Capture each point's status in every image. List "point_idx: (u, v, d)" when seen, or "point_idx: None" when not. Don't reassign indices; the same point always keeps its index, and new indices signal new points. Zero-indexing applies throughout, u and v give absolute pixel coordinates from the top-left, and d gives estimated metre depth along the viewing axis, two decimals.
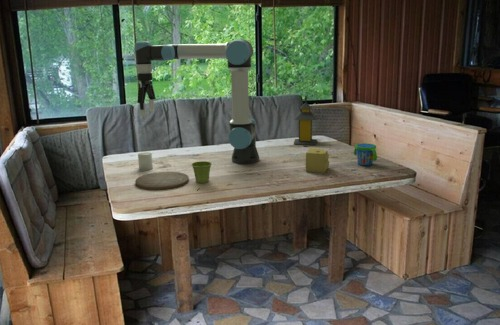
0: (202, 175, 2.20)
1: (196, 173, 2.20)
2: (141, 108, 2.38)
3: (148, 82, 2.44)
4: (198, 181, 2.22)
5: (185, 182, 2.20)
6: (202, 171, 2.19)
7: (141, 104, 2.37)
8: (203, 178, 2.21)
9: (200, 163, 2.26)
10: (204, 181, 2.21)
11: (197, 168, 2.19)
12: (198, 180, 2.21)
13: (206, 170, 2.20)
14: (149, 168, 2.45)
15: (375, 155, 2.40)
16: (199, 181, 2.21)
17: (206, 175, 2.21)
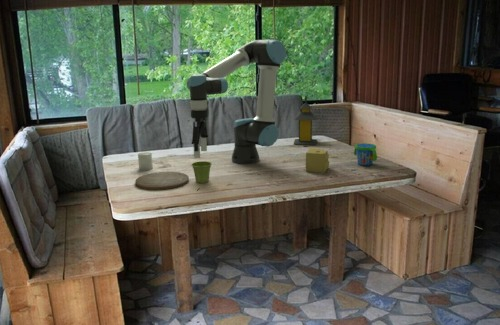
0: (202, 175, 2.20)
1: (196, 173, 2.20)
2: (195, 149, 2.12)
3: (202, 119, 2.18)
4: (198, 181, 2.22)
5: (185, 182, 2.20)
6: (202, 171, 2.19)
7: (196, 145, 2.11)
8: (203, 178, 2.21)
9: (200, 163, 2.26)
10: (204, 181, 2.21)
11: (197, 168, 2.19)
12: (198, 180, 2.21)
13: (206, 170, 2.20)
14: (149, 168, 2.45)
15: (375, 155, 2.40)
16: (199, 181, 2.21)
17: (206, 175, 2.21)
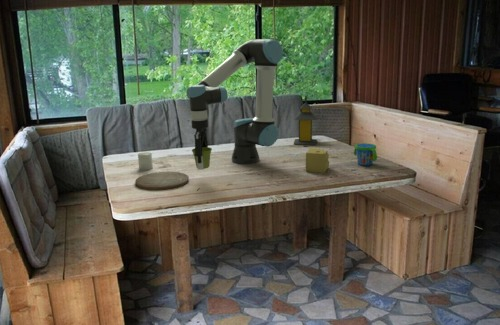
0: (203, 161, 2.19)
1: (196, 159, 2.19)
2: (199, 161, 2.16)
3: (203, 128, 2.19)
4: None
5: (185, 182, 2.20)
6: None
7: (199, 157, 2.15)
8: (204, 164, 2.19)
9: None
10: (205, 167, 2.20)
11: None
12: None
13: (206, 156, 2.18)
14: (149, 168, 2.45)
15: (375, 155, 2.40)
16: None
17: (207, 161, 2.20)
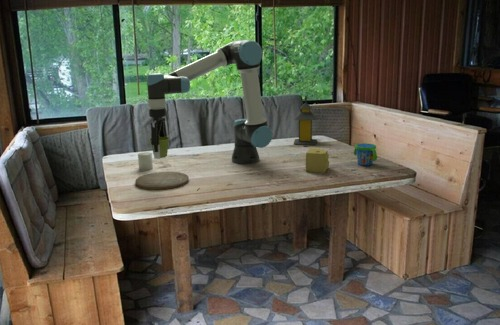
0: (160, 150, 2.17)
1: (153, 148, 2.18)
2: (155, 150, 2.15)
3: (161, 117, 2.18)
4: None
5: (185, 182, 2.20)
6: None
7: (155, 146, 2.14)
8: (161, 153, 2.18)
9: None
10: (162, 156, 2.19)
11: None
12: None
13: (164, 145, 2.17)
14: (149, 168, 2.45)
15: (375, 155, 2.40)
16: None
17: (164, 150, 2.18)
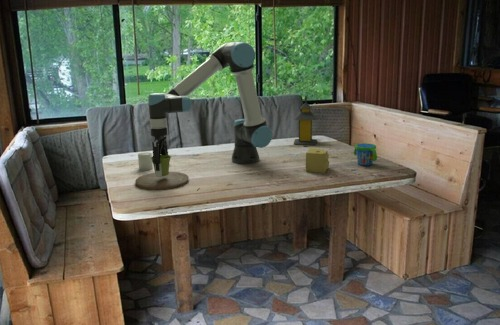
0: (161, 169, 2.20)
1: None
2: (157, 169, 2.17)
3: (162, 136, 2.21)
4: None
5: (185, 182, 2.20)
6: (161, 165, 2.19)
7: (157, 165, 2.16)
8: (162, 171, 2.20)
9: None
10: (163, 174, 2.21)
11: None
12: None
13: (165, 163, 2.20)
14: (149, 168, 2.45)
15: (375, 155, 2.40)
16: None
17: (165, 168, 2.21)
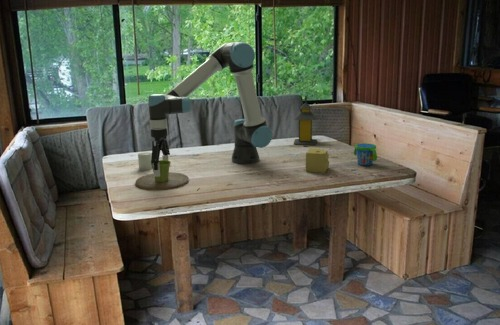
0: (161, 174, 2.19)
1: None
2: (155, 168, 2.15)
3: (162, 138, 2.21)
4: (157, 180, 2.20)
5: (185, 183, 2.20)
6: (160, 170, 2.18)
7: (155, 164, 2.14)
8: (162, 177, 2.19)
9: (159, 162, 2.25)
10: (163, 180, 2.20)
11: None
12: (156, 179, 2.20)
13: (165, 169, 2.19)
14: (149, 168, 2.45)
15: (375, 155, 2.40)
16: (158, 180, 2.20)
17: (165, 174, 2.20)
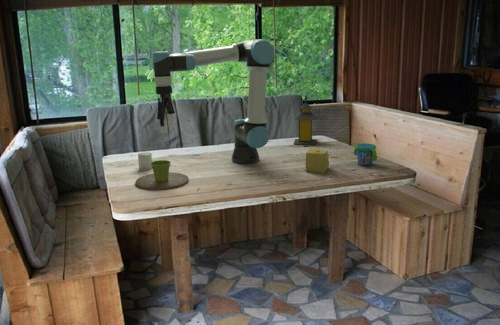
0: (161, 174, 2.19)
1: (155, 172, 2.19)
2: (161, 125, 2.17)
3: (167, 95, 2.23)
4: (157, 180, 2.21)
5: (185, 183, 2.20)
6: (160, 170, 2.18)
7: (161, 120, 2.16)
8: (162, 177, 2.20)
9: (159, 162, 2.25)
10: (163, 180, 2.20)
11: (155, 167, 2.18)
12: (157, 179, 2.20)
13: (165, 169, 2.19)
14: (149, 168, 2.45)
15: (375, 155, 2.40)
16: (158, 180, 2.20)
17: (165, 174, 2.20)
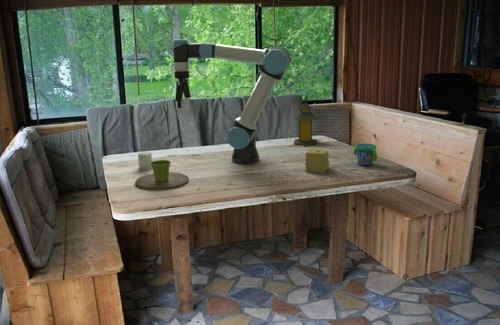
0: (161, 174, 2.19)
1: (155, 172, 2.20)
2: (179, 106, 2.37)
3: (185, 80, 2.43)
4: (157, 180, 2.21)
5: (185, 183, 2.20)
6: (160, 170, 2.19)
7: (179, 102, 2.36)
8: (162, 177, 2.20)
9: (159, 162, 2.26)
10: (163, 180, 2.21)
11: (155, 167, 2.18)
12: (157, 179, 2.21)
13: (165, 169, 2.19)
14: (149, 168, 2.45)
15: (375, 155, 2.40)
16: (158, 180, 2.21)
17: (165, 174, 2.20)
